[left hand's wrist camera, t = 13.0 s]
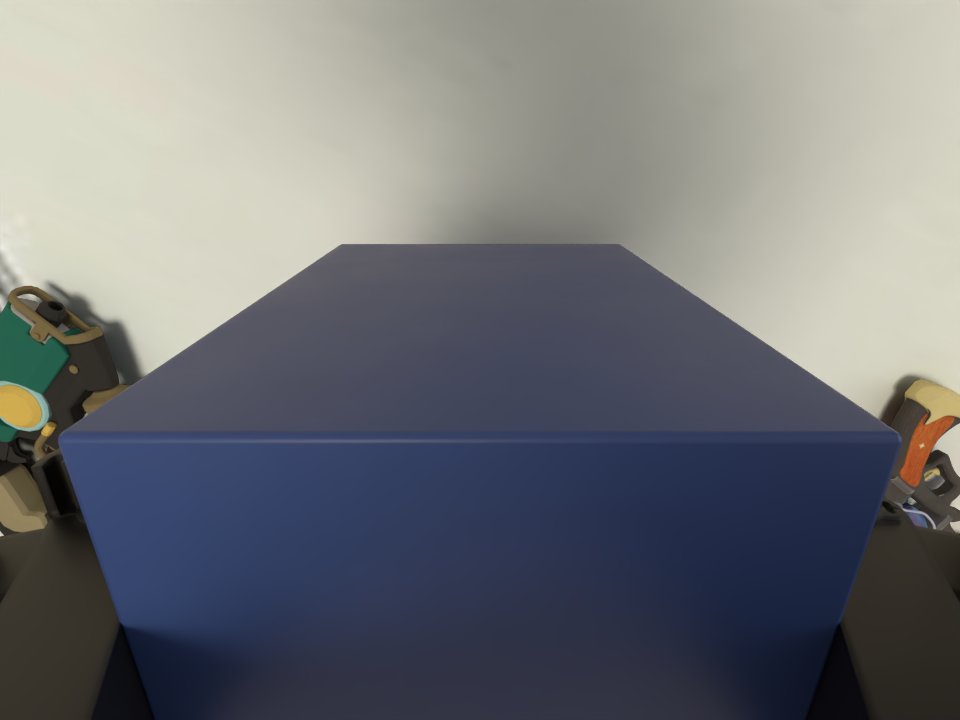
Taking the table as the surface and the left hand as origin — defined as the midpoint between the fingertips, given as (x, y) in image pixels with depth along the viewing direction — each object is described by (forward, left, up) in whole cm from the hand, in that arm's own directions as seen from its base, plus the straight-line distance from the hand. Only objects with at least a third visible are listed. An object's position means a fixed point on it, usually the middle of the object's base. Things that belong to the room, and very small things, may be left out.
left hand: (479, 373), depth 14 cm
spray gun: (+29, +2, -18) cm, 34 cm away
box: (+3, +10, -1) cm, 11 cm away
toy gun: (-25, +26, -18) cm, 40 cm away
